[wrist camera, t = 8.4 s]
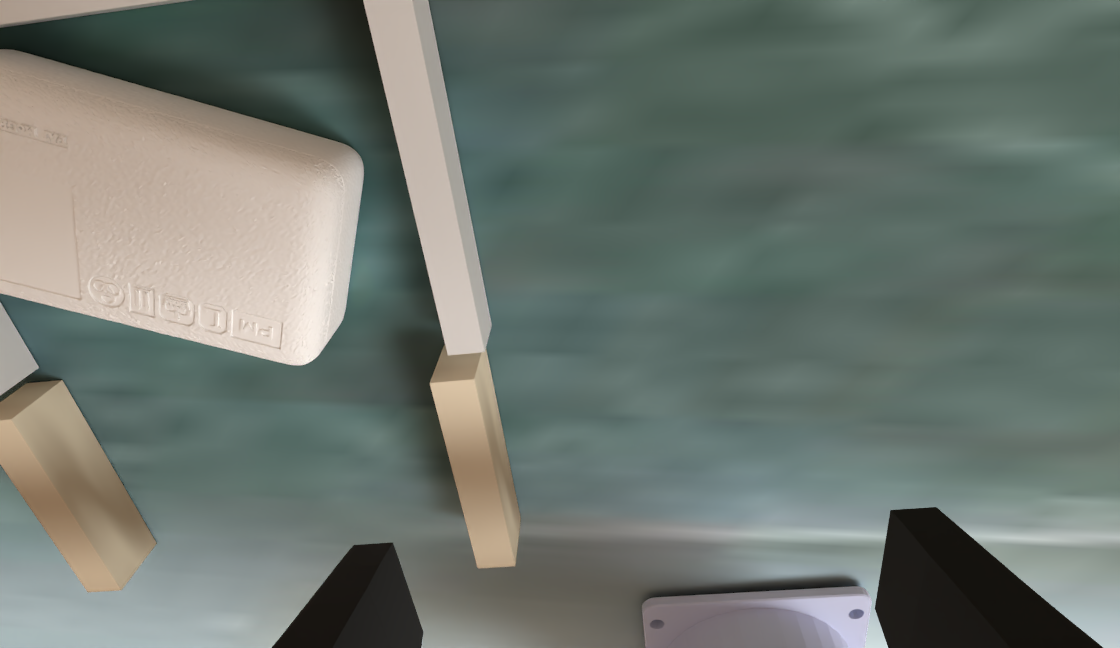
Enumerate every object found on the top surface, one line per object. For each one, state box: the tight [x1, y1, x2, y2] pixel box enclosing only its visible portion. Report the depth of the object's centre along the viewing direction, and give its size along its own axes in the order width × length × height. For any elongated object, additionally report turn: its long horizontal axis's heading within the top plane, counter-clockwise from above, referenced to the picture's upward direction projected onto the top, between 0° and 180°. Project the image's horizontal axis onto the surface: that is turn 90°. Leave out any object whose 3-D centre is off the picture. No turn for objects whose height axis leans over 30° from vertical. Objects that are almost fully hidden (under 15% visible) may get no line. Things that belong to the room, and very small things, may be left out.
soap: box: [0, 49, 364, 365], centre depth 16 cm, size 9×6×3 cm, turn 74°
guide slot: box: [0, 345, 521, 592], centre depth 20 cm, size 7×14×2 cm, turn 97°
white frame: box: [0, 0, 492, 395], centre depth 16 cm, size 10×15×2 cm, turn 97°
